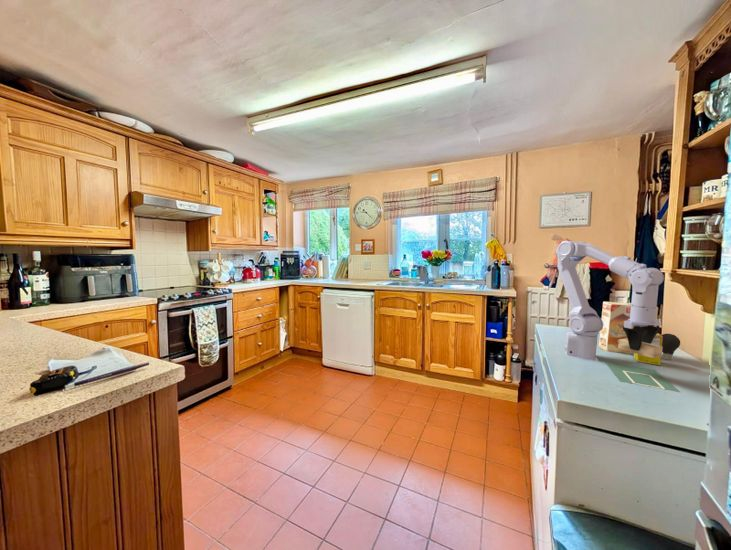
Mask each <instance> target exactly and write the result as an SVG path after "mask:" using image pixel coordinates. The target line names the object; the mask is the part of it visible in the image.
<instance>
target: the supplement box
mask: <svg viewBox="0 0 731 550" xmlns="http://www.w3.org/2000/svg"><path fill="white" fill-rule="evenodd" d="M661 335H662V334H660V333H659V332H658V333H657V334H656V336H655V337H654V339H653V341H652V343H651V344H653V345H657V346H662V341H663V336H661ZM633 358H634V360H635V361H636V363H638V364H639V363H640V364H646V365H651V366H652V365H653V366H658V367H660V366H661V362H662V361H661V359H662V356H661V357H656V358H652V357H648V356H644V355H640V354H637V353H634V355H633Z"/></svg>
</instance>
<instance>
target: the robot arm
mask: <svg viewBox="0 0 731 550" xmlns="http://www.w3.org/2000/svg"><path fill="white" fill-rule="evenodd" d="M555 253H556V256H557V270H558V273H559V276H560V278H561V282H562V284H563V288H564V290H565V293H566V295H567V299H568V302H569V304H570V308H571V310H570V312H569V314H568V318H569V321H568V322H569V323H568V324H569V325H568V326H569V328H570V329H571V331H566V333H565V340H564V341H565V343H564V352H565V355H566V357H571V358H578V359H583V360H584V359H585V360H589V361H597V362H599V361H600V360H599V359H598V357H597V348H598V347H597V346H598V337H599V336H598V335H600V331H601V330H602V329H603V321H602V317H600V316H599V315H598V313H597V311H596V310H595V309H594V308H592V307H591V306H590V304H589V302H588V298H587V295H586V293H585V290H584V288H583V285H582V282H581V280H580V277H579V274H578V271H577V265H579V264H580V263H581V262H582V261H583V260H584V259H585V258H586V257H589V258H591V259H593V260H595V261H598V262H600V263H602V264H605V265H607V266H608V268H609V271H610V272H613V273H614V274H617V275H619V276H620V277H623V278H625V279H627V280H628V281H629V283H630V284H631V286H632V294H631V302H630V303H631V312H630V319H628V320H627V321H624V326H623V330H624V331H625V333H626V335H627V338H628V342H629V347H630V349H632V350H636V351H639V350H640V347H641V344H642V342H645V343H649V344H651V343H652V341H653V339H654V337H655V336H656V334H657V333H659V332H660V331H661V328H660V327H658V326H660V324H661V323H660V319H658V318H657V319H655V316H656V307H658V296H659V286H660V285H661V284H662V283H663V282H664V279H665V275H664V273H663V272H662V271H661V270H659V269H658V268H657V267H656V268H655V267H647V264H645V263H639V262H637V261H634V260H632V257H630V256H628V255H625V256H623V255H620V256H614V255H612V254H611V253H609V252H607V251H605V250H603V249H601V248H599V247H597V246H596V245H594V244H593V243H588V242H586V241H572V240H571V241H570V240H563V241H562V242H559V244H558V246H557V247H556V250H555ZM654 325H655V326H656V327H654Z"/></svg>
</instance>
